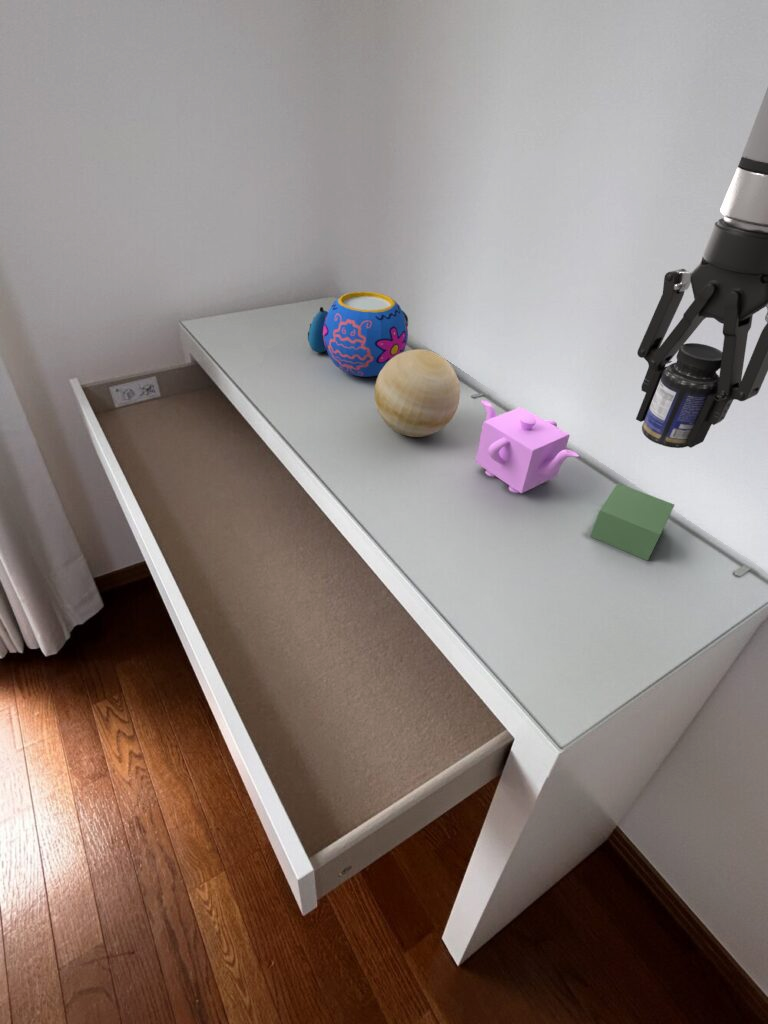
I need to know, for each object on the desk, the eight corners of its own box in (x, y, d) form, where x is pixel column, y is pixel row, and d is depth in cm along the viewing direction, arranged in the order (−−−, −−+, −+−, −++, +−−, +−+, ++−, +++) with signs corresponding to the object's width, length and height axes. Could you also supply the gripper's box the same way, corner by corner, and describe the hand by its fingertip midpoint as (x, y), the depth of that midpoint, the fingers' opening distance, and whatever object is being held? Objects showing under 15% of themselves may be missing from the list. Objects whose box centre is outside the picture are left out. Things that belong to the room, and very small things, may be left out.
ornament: (322, 342, 133) (322, 299, 127) (339, 347, 131) (340, 303, 125) (302, 354, 127) (301, 310, 121) (320, 359, 126) (319, 315, 119)
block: (662, 530, 86) (674, 504, 83) (647, 560, 81) (660, 534, 78) (607, 508, 90) (617, 482, 87) (589, 536, 84) (599, 510, 81)
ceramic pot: (416, 364, 127) (423, 296, 117) (384, 397, 114) (389, 323, 104) (346, 347, 132) (347, 280, 122) (308, 377, 119) (306, 305, 109)
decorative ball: (402, 402, 113) (409, 328, 103) (468, 428, 106) (482, 352, 97) (355, 432, 103) (358, 353, 93) (425, 463, 97) (435, 382, 87)
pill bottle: (696, 434, 71) (736, 349, 64) (687, 456, 67) (730, 368, 60) (645, 418, 73) (679, 335, 66) (634, 438, 69) (669, 352, 62)
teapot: (465, 491, 91) (476, 432, 84) (472, 447, 101) (482, 392, 95) (561, 507, 89) (581, 449, 82) (558, 461, 100) (575, 406, 93)
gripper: (884, 244, 51) (760, 459, 66) (690, 199, 62) (621, 390, 77) (850, 254, 47) (727, 479, 62) (650, 204, 59) (586, 404, 73)
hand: (668, 429), depth 69 cm, fingers closed on pill bottle, 6 cm apart
